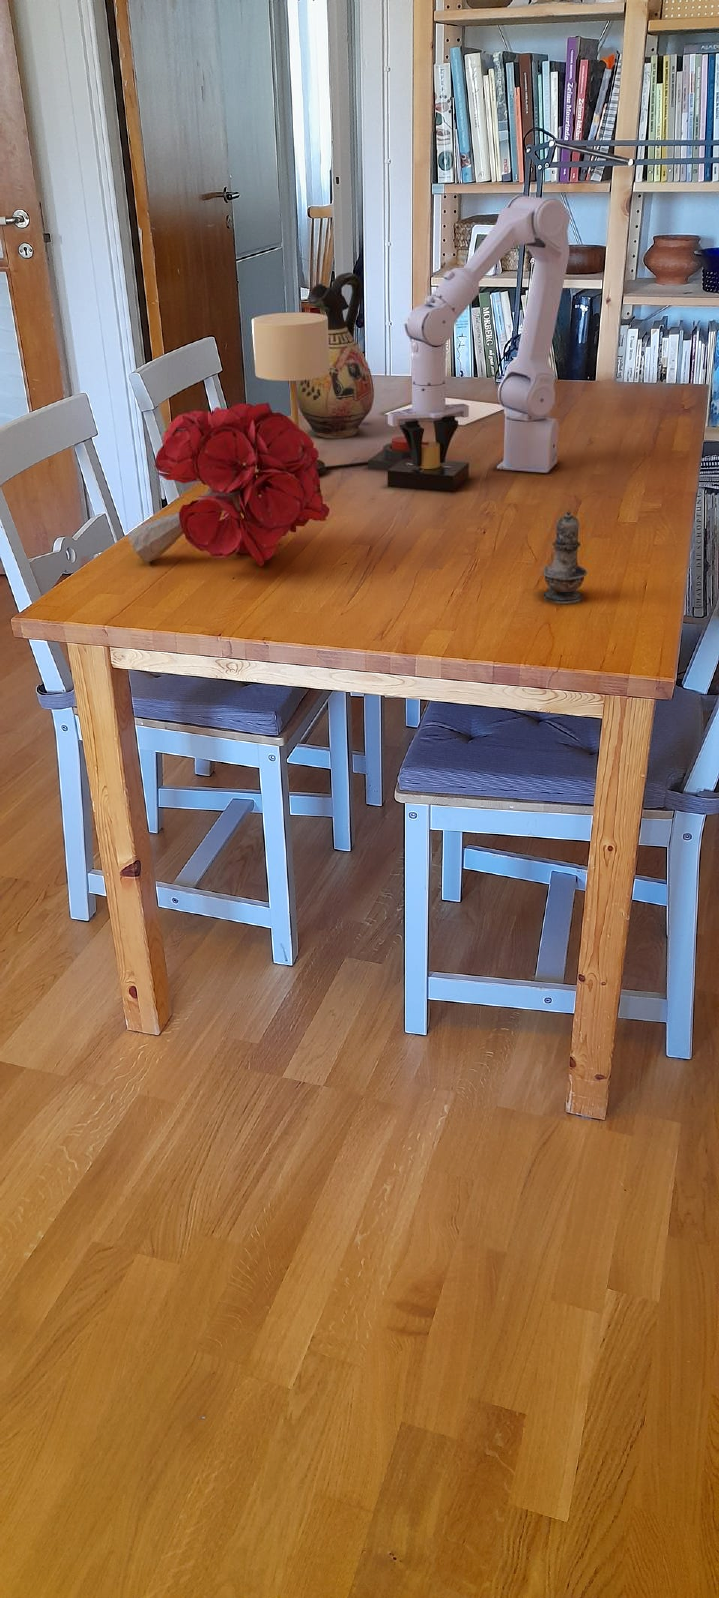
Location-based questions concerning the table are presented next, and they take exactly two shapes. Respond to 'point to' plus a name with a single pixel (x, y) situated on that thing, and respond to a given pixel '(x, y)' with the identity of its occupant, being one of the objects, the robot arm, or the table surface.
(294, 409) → the table lamp
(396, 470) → the dimmer panel
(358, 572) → the table surface
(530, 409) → the robot arm
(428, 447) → the dimmer knob
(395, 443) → the lamp switch
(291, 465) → the bouquet
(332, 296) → the ceramic jug
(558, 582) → the salt shaker
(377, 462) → the switch box
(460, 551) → the table surface
